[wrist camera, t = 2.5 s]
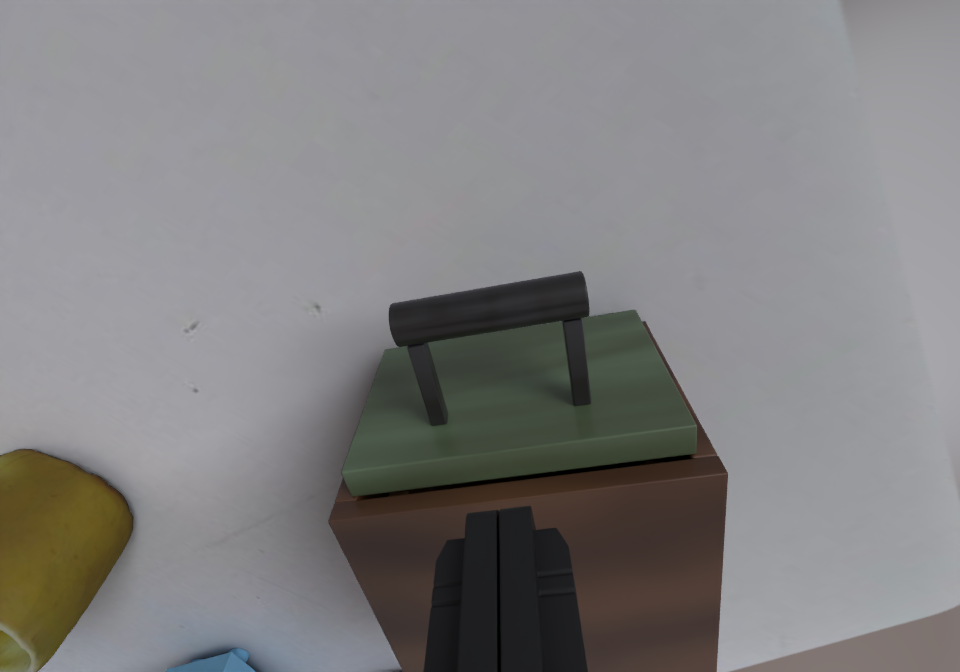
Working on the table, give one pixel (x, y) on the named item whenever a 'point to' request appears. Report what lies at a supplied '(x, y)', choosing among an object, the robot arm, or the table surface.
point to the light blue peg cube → (218, 663)
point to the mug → (52, 552)
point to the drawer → (513, 392)
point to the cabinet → (593, 550)
